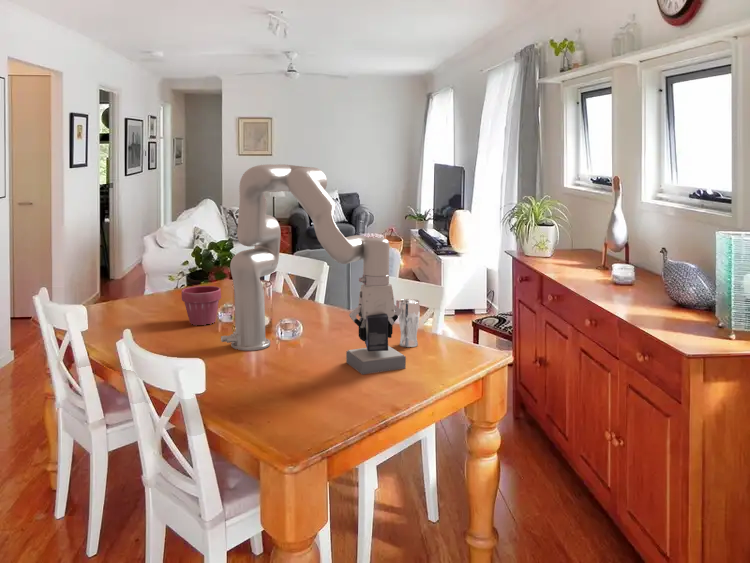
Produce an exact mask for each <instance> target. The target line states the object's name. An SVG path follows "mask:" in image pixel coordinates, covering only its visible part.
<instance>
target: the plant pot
mask: <svg viewBox="0 0 750 563" xmlns="http://www.w3.org/2000/svg"><path fill="white" fill-rule="evenodd" d="M221 299H222V290H221V287H219V286H215V285H202V286H201V285H198V286H190V287H186V288H183V289H181V301H182V302H184V306H185V311H186V313H187V317H188V320H189V324H190V323H191V324H190V325H192V324H193V325H192V326H197V325H204V326H207V325H206V324H210V325H212V324H211V323H213V324H215V323H216V319H217V315H218V314H217V313H218V307H219V301H220V300H221ZM214 322H215V323H214Z"/></svg>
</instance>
